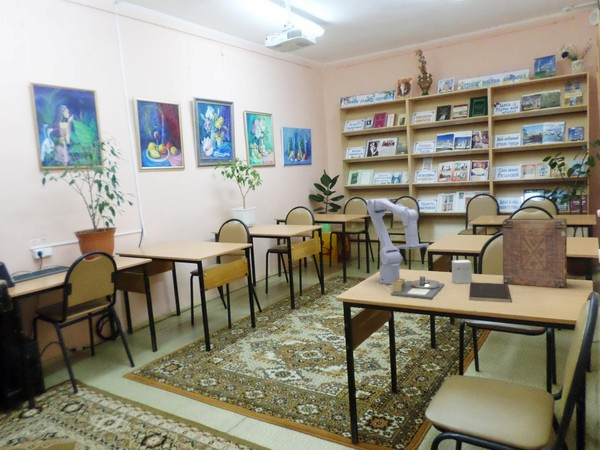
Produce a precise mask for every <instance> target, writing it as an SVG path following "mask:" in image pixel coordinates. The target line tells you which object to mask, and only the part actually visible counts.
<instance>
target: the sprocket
mask: <svg viewBox="0 0 600 450" xmlns="http://www.w3.org/2000/svg"><path fill="white" fill-rule="evenodd" d="M412 281H413V282H412V283H411V285H412V287H414V288H419V289H435V288H438V287H440V281H438V280H434V279H426V276H419V279H416V280H412Z"/></svg>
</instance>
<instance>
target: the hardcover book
mask: <svg viewBox="0 0 600 450" xmlns="http://www.w3.org/2000/svg"><path fill="white" fill-rule="evenodd" d="M468 294H469V295H468V297H469V300H470V301H482V302H483V301H484V302H485V301H486V302H499V303H500V302H502V303H503V302H504V303H512V302H513V299H512V297H511V292H510V288H509V284H504V283H498V282H497V283H496V282H495V283H493V282H492V283H491V282H473V281H472V282H470V283H469V293H468Z"/></svg>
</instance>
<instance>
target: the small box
mask: <svg viewBox="0 0 600 450" xmlns="http://www.w3.org/2000/svg"><path fill="white" fill-rule="evenodd" d="M472 273H473V272H472V261H470V260H468V259H457V260H456V259H455V260H451V280H452V281H451V282H452V283H454V284H455V285H458V284H459V285H460V284H461V285H462V284H470V282H473V279H472V278H473V275H472Z"/></svg>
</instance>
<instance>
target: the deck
mask: <svg viewBox="0 0 600 450" xmlns="http://www.w3.org/2000/svg"><path fill="white" fill-rule="evenodd" d="M413 281H414V280H405V290H404V291H403V292H402V293H396V292H393V291H392V292H391V294H390V295H391V296H392V297H393V296H395V297H404V298H414V299H422V300H424V299H425V300H433V298H434V297H435V296H437V294H438V293H439V292H441V290H442V289H443V288H444V287H445V283H443V282H441V283H440V287H438V288H435V289H430V292H429V293H428V294H427V295H426V296H421V295H410V294H407V293H408V292H409V291H410V290H411V289H412V288H414V287H412V285H411V283H412V282H413Z"/></svg>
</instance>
